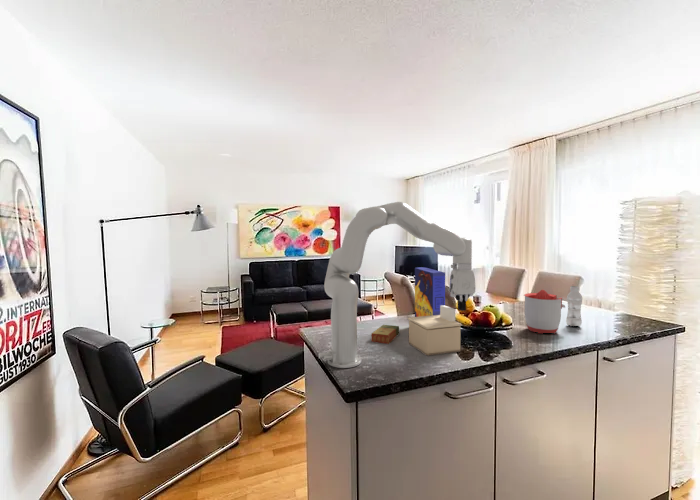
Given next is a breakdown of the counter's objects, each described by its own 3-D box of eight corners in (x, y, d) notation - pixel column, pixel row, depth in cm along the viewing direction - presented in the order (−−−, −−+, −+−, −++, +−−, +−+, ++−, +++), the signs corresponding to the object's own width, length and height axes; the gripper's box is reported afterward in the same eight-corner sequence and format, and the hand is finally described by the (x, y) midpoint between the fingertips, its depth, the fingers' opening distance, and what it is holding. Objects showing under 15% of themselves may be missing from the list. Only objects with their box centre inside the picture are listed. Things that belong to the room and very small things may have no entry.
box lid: (426, 329, 130) (426, 314, 130) (408, 319, 145) (408, 306, 145) (461, 325, 135) (461, 311, 135) (439, 316, 150) (440, 303, 150)
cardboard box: (427, 355, 131) (427, 330, 131) (409, 343, 146) (409, 320, 145) (460, 351, 136) (460, 326, 135) (439, 340, 150) (439, 317, 150)
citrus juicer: (571, 336, 153) (572, 292, 152) (530, 335, 156) (531, 292, 155) (556, 327, 168) (557, 287, 167) (519, 326, 171) (519, 286, 170)
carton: (370, 342, 149) (370, 332, 149) (382, 332, 164) (382, 323, 164) (389, 344, 146) (388, 334, 146) (399, 334, 160) (399, 325, 160)
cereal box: (414, 326, 173) (414, 267, 171) (426, 325, 174) (426, 267, 172) (432, 339, 151) (432, 272, 150) (444, 338, 152) (445, 272, 151)
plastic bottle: (562, 325, 171) (563, 286, 170) (572, 324, 173) (573, 285, 172) (574, 329, 165) (575, 288, 164) (585, 327, 167) (586, 287, 166)
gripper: (452, 268, 137) (451, 313, 138) (482, 267, 142) (482, 310, 143) (441, 266, 144) (441, 309, 145) (471, 265, 149) (471, 307, 150)
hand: (461, 310), depth 144 cm, fingers closed
